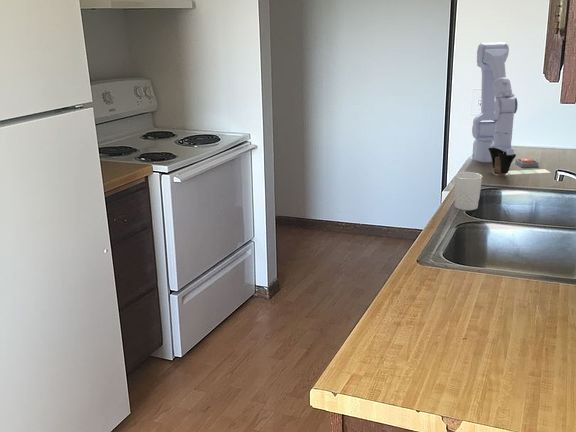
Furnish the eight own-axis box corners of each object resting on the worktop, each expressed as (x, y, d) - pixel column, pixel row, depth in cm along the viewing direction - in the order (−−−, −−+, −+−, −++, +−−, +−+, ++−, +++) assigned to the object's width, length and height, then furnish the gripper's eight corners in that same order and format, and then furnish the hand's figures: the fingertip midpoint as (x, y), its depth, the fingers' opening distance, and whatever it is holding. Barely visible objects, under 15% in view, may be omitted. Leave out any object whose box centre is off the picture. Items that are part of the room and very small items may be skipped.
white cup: (477, 202, 191) (479, 171, 188) (482, 211, 184) (484, 178, 181) (451, 202, 192) (452, 171, 189) (455, 211, 185) (457, 179, 181)
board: (487, 172, 223) (487, 169, 223) (541, 169, 224) (542, 167, 224) (498, 180, 213) (498, 177, 213) (554, 177, 214) (555, 174, 214)
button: (518, 164, 229) (518, 158, 228) (529, 164, 229) (530, 157, 229) (523, 167, 225) (523, 161, 224) (535, 167, 225) (535, 160, 224)
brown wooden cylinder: (492, 171, 220) (493, 156, 218) (503, 171, 220) (504, 156, 218) (496, 174, 216) (497, 159, 214) (507, 174, 216) (509, 159, 214)
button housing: (515, 165, 230) (515, 159, 229) (530, 165, 230) (531, 158, 230) (521, 170, 224) (522, 163, 224) (537, 169, 225) (538, 162, 224)
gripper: (484, 128, 220) (481, 165, 224) (500, 137, 206) (496, 176, 211) (503, 127, 220) (500, 164, 225) (520, 136, 206) (517, 175, 211)
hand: (500, 170), depth 218 cm, fingers open, 7 cm apart
